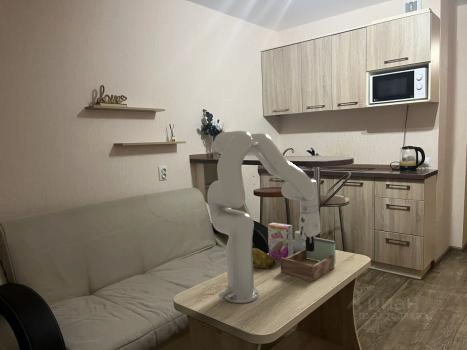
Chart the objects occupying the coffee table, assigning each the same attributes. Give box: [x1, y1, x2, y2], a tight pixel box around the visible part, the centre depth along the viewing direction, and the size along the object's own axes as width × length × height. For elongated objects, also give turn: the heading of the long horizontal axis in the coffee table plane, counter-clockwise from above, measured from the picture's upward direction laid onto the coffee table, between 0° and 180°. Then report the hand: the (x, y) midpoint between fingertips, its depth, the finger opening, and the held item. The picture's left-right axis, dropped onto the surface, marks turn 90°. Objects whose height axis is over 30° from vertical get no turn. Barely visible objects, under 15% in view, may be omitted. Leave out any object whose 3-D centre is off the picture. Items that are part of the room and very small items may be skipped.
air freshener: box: [293, 230, 305, 253], centre depth 171 cm, size 11×8×10 cm
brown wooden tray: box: [279, 249, 335, 283], centre depth 147 cm, size 18×15×6 cm
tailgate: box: [305, 236, 337, 265], centre depth 153 cm, size 1×15×10 cm, turn 46°
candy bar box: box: [267, 222, 294, 261], centre depth 162 cm, size 11×5×16 cm, turn 50°
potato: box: [252, 247, 276, 269], centre depth 154 cm, size 8×13×8 cm, turn 50°
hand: (310, 250), depth 148 cm, fingers closed
